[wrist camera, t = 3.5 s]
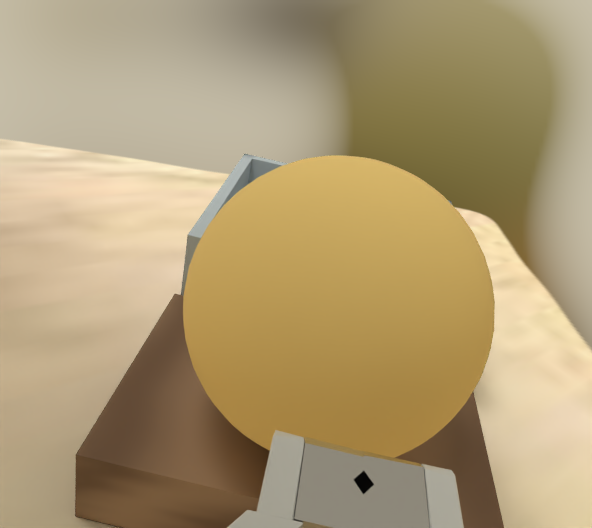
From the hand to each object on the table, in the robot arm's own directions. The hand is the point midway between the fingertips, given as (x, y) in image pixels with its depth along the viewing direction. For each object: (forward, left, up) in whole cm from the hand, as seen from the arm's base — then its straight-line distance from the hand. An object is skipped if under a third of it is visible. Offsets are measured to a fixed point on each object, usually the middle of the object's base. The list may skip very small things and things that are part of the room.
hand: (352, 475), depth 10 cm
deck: (0, +10, -11) cm, 15 cm away
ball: (0, +9, -3) cm, 10 cm away
